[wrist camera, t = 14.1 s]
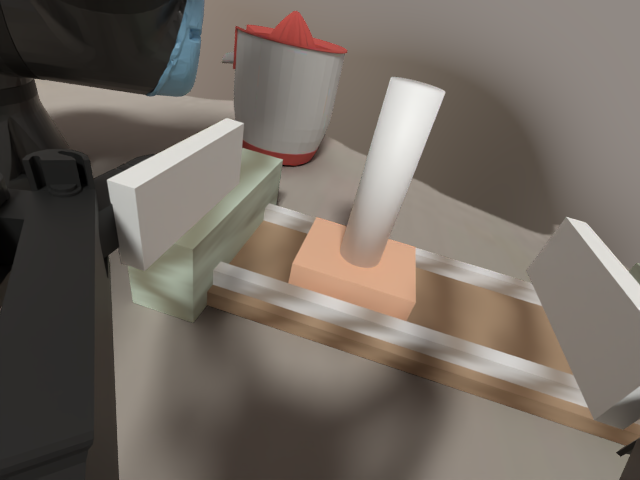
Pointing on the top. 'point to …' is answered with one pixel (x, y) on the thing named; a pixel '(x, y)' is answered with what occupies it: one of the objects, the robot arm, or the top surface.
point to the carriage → (375, 214)
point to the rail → (364, 324)
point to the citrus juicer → (284, 88)
